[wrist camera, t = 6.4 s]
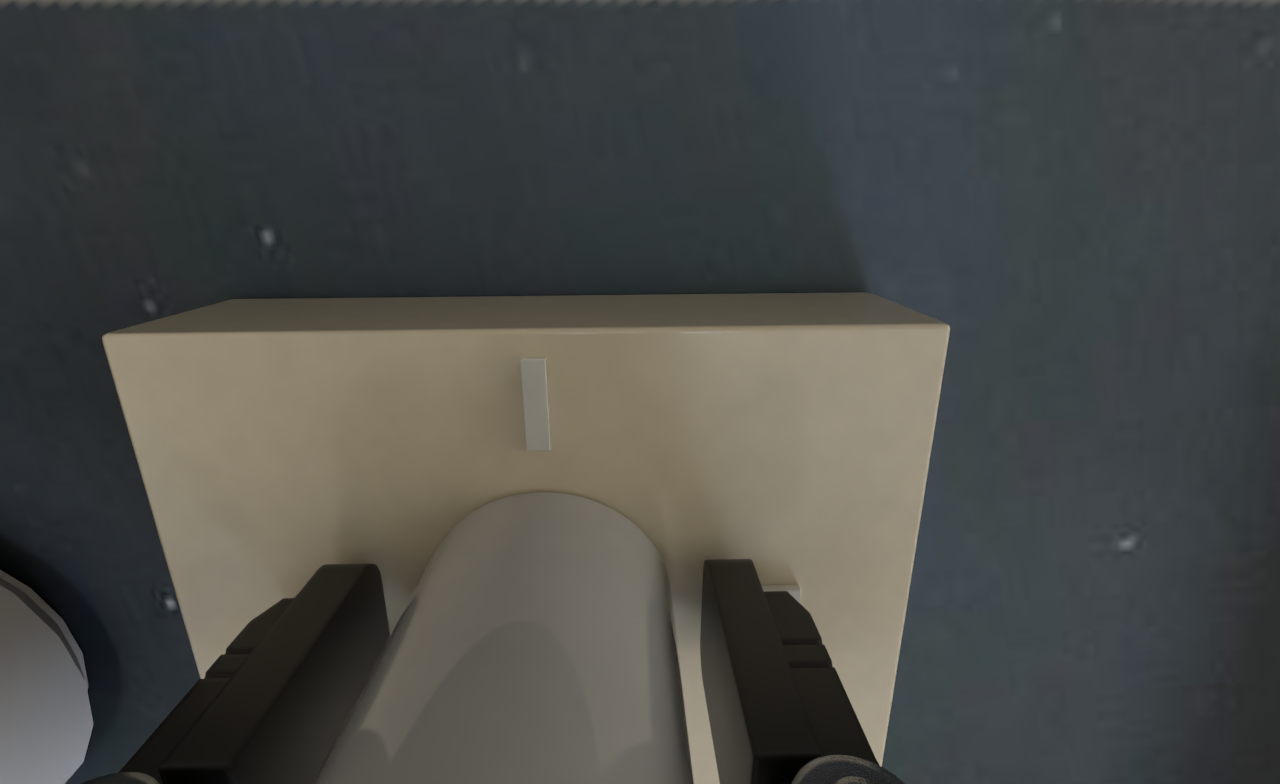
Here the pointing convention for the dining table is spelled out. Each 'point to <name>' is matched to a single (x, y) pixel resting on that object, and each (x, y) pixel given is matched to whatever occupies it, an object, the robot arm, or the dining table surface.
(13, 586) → the can
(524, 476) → the panel
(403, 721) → the dial
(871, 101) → the dining table surface
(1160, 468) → the dining table surface
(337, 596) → the robot arm
